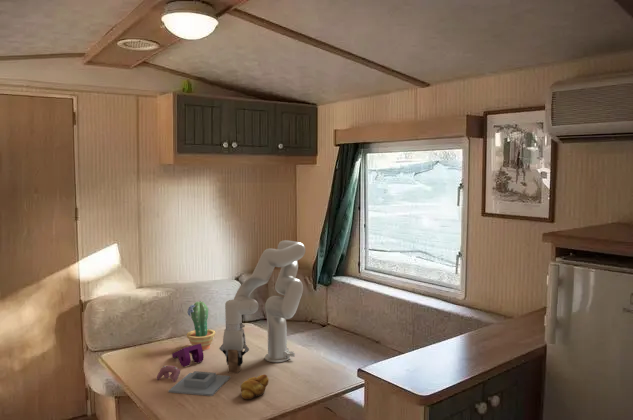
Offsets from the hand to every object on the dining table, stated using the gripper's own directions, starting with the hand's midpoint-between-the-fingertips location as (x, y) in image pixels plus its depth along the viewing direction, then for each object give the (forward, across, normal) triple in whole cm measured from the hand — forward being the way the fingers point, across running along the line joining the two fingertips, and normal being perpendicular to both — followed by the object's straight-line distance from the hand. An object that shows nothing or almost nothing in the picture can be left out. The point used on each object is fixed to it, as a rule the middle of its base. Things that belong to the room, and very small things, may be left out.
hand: (234, 364), depth 241 cm
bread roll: (+4, -17, +24) cm, 29 cm away
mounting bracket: (+4, +29, -8) cm, 30 cm away
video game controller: (+4, +26, +15) cm, 30 cm away
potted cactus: (+4, +30, -28) cm, 41 cm away
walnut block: (+3, 0, 0) cm, 3 cm away
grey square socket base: (+3, +9, +18) cm, 20 cm away
